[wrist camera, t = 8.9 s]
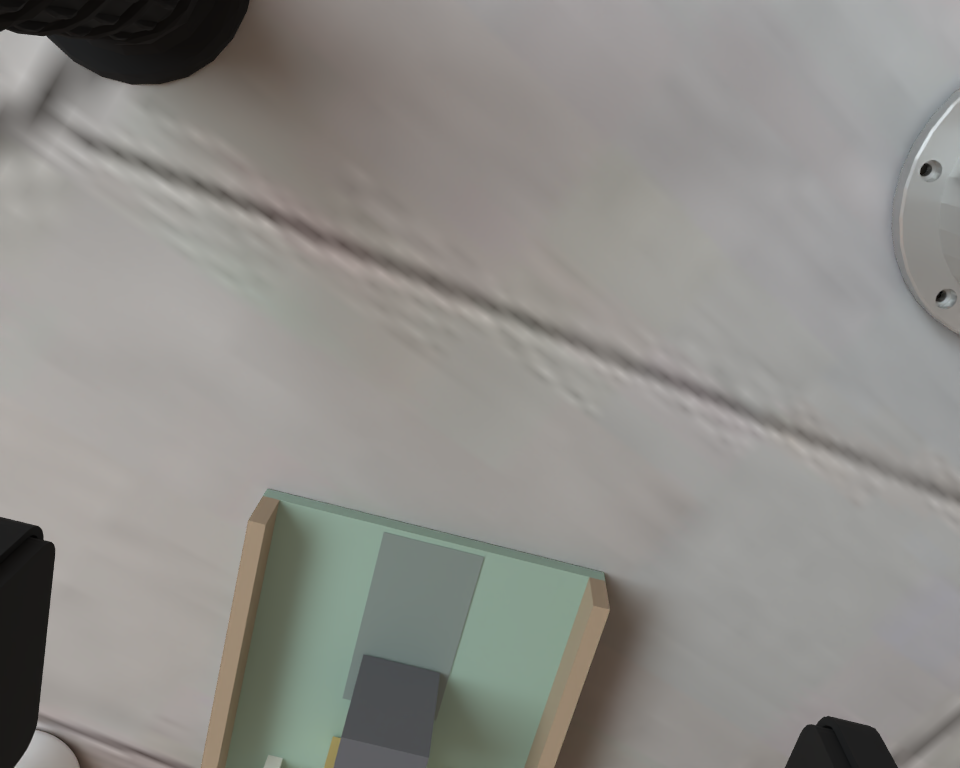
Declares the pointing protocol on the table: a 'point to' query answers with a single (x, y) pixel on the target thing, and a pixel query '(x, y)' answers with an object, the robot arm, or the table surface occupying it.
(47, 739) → the drinking glass
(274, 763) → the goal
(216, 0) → the handle grip
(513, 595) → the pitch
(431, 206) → the table surface
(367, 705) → the grey cube yellow base
